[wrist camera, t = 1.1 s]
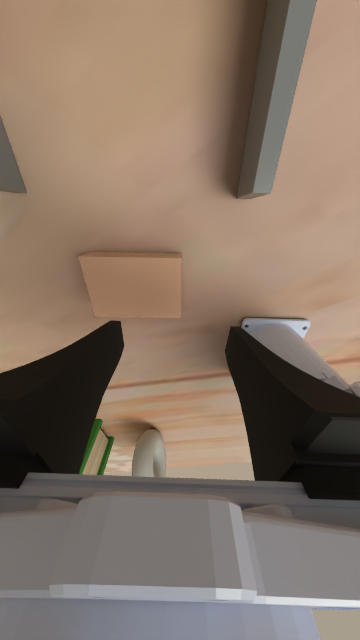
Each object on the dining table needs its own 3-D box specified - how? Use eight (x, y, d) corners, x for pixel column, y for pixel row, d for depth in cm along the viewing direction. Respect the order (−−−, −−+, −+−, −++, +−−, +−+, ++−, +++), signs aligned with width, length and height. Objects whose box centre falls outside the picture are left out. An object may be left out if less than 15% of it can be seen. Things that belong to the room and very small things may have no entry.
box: (250, 198, 15) (270, 193, 11) (12, 192, 15) (-39, 184, 11) (320, -166, 8) (428, -468, 4) (-129, -179, 8) (-376, -495, 4)
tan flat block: (181, 305, 20) (180, 318, 18) (105, 304, 20) (94, 316, 18) (182, 252, 17) (181, 258, 15) (93, 250, 17) (78, 256, 15)
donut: (137, 419, 32) (120, 492, 24) (154, 416, 32) (144, 490, 23) (154, 444, 37) (146, 513, 29) (170, 443, 37) (166, 511, 28)
